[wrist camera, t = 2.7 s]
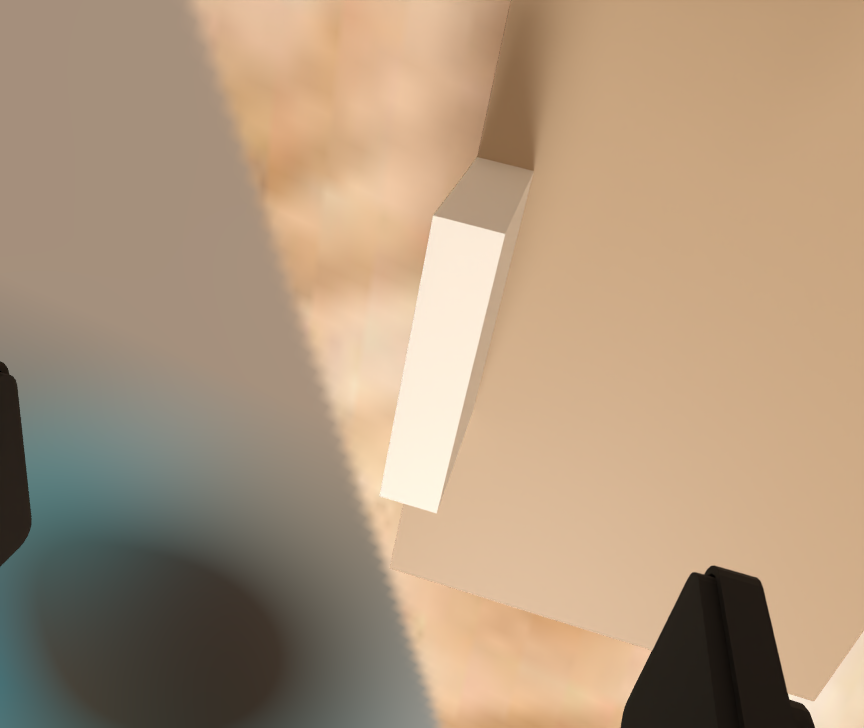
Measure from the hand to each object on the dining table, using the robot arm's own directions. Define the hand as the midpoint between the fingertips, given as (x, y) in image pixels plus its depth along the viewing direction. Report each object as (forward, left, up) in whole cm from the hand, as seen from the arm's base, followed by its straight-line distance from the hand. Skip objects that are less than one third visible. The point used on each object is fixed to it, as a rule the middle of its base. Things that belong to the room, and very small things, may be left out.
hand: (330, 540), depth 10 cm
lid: (0, +6, -9) cm, 11 cm away
